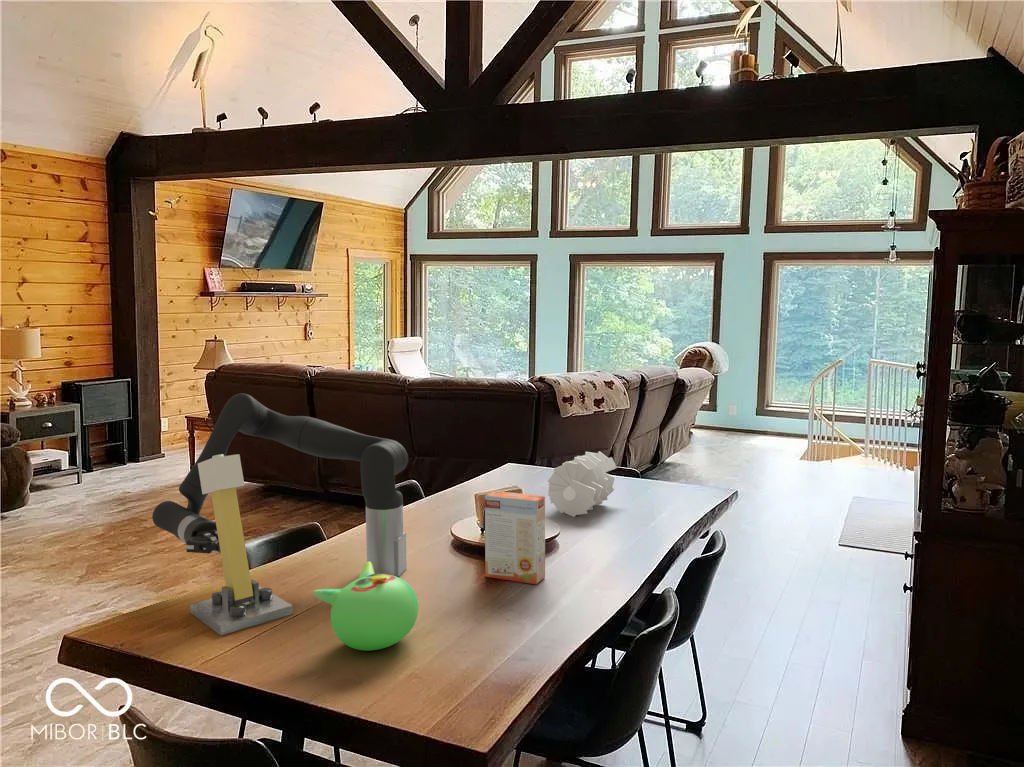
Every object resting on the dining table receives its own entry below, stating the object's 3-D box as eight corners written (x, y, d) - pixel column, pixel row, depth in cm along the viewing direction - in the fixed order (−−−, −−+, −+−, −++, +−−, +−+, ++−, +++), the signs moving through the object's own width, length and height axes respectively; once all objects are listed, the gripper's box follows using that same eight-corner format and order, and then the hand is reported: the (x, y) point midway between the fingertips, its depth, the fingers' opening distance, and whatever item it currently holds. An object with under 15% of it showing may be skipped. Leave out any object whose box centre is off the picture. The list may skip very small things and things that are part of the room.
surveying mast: (220, 607, 172) (196, 460, 176) (246, 600, 176) (223, 456, 180) (236, 607, 166) (212, 454, 169) (263, 599, 170) (238, 450, 173)
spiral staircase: (556, 529, 248) (583, 506, 270) (604, 511, 240) (628, 489, 262) (532, 476, 248) (562, 457, 271) (579, 457, 240) (605, 440, 263)
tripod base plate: (190, 612, 172) (189, 584, 171) (259, 594, 183) (258, 567, 182) (220, 635, 160) (219, 605, 160) (292, 614, 171) (291, 585, 170)
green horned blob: (375, 672, 144) (373, 596, 143) (310, 651, 153) (307, 578, 152) (434, 637, 159) (433, 567, 158) (372, 619, 168) (371, 553, 167)
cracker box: (546, 577, 193) (546, 495, 191) (536, 585, 188) (536, 500, 186) (495, 569, 199) (494, 489, 197) (484, 577, 194) (484, 494, 191)
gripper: (170, 523, 182) (198, 539, 169) (225, 512, 191) (256, 527, 178) (171, 554, 182) (200, 573, 170) (227, 542, 191) (258, 559, 179)
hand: (229, 550), depth 174 cm, fingers closed
